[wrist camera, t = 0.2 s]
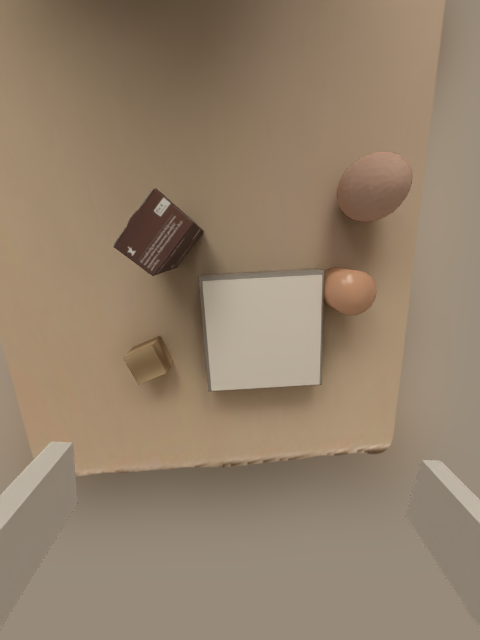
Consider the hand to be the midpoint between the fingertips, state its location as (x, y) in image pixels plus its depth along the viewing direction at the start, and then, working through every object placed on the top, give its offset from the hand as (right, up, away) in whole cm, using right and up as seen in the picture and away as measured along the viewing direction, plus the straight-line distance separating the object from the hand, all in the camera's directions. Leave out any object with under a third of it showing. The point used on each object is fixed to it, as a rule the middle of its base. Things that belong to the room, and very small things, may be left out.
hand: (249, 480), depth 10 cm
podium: (+3, +5, +27) cm, 27 cm away
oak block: (-12, +1, +27) cm, 30 cm away
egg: (+14, +21, +23) cm, 34 cm away
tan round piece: (+12, +11, +26) cm, 30 cm away
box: (-8, +16, +24) cm, 30 cm away
